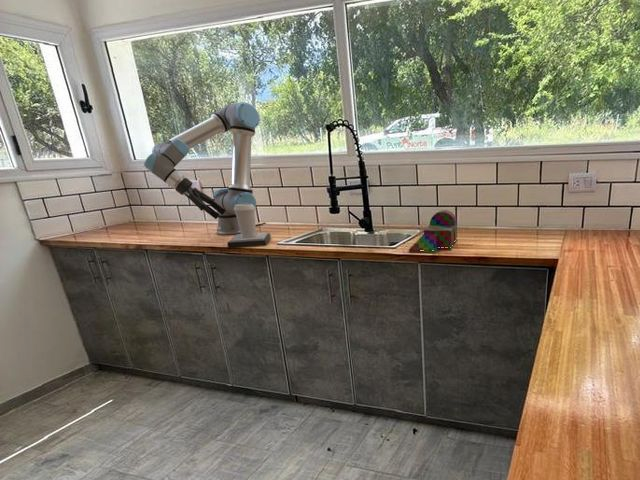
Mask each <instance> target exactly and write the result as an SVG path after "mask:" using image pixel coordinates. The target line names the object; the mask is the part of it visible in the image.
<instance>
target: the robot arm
mask: <svg viewBox="0 0 640 480" xmlns="http://www.w3.org/2000/svg"><path fill="white" fill-rule="evenodd" d="M260 120H261V118H260V113H259V111H258V109H257V108H256V107H255V106H254V105H253V104H251V103H249V102H243V101H241V102H235V103H230V104H227V105H225V106H224V107H222V108H220V109H219V110H217V111H215V112H214V113H211V115H210V118H207V119H206V120H204V121H202V122H200V123H198V124H196V125H194V126H192V127H189V128H188V129H186V130H184V131H183V132H181V133H179V134H176V135H174V136H173V137H171V138H169V139H168V140H165V141H164V142H162V143H157V144H155V145H153V147H152V149H151V153H150V154H149V155H148V156H147V157H146V158H145V160H144V162H143V166H144V168H146V169H147V171H149V172H151V174H153V175H154V176H156V177H157V178H159V179H160V180H161V181H163V182H164V183H165V184H167V187H171V188H172V189H174V190H175V191H176V192H177V193H178V194H179V195H181V196H185V197H187V198H188V199H189V201H191V202H192V203H193V204H194V205H195V206H196V207H197V208H198V209H199V210H200V211H201V212H202V211H204V212H206V213H207V214H208V215H209V216H211V217H212V218H214V219H215V220H217V226H216V233H217V235H221V236H231V235H237V234H241V231H240V228H239V224H238V220H237V216H236V213H235V210H234V207H235V205H237V204H253V206H254V207H255V209H254V211H256V207H257V199H256V198H255V196H254V195H253V192H254V191H253V188H252V187H251V186H250V185H251V164H252V163H251V161H252V160H251V159H252V138H253V137H254V136H255V135H256V128H257V127H258V126H259V124H260V123H261V121H260ZM229 131H230V132H231V134H232V157H231V158H232V160H231V183H230V184H229V185H228V186H227V187H228V188H221V189H215V190H214V191H213V198H212V197H211V196H209V195H207V194H206V193H204V192H203V191H201V190H199V189H198V188H197V187H192V186H193V182H192V181H191V180H190V179H189V178H187V177H185V175H184V174H183V173H181V171H179V170H177V169H176V168H175V167H176V166H177V165H178V164H179V163H180V162H182V160H183V159H184V158H186V156H187V155H188V154H189V153H190V150H191V149H193V148H194V147H196V146H198V145H200V144H201V143H203V142H205V141H207V140H209V139H211V138H213V137H214V136H217V135H218V134H225V133H226V132H229ZM266 224H267V223H266V222H263V223H259V224H255V226H256V227H258V226H262V225H266Z"/></svg>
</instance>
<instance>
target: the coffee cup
mask: <svg viewBox="0 0 640 480" xmlns="http://www.w3.org/2000/svg"><path fill="white" fill-rule="evenodd" d="M254 209H255V210H254ZM234 210H235V213H236V216H237V220H238V224H239V228H240V231H241V233H240V234H241V235H242V237H243V238H251V237H255V236H256V233H257V229H256V227H257V226H255V225H256V214H255V213H256V212H255V211H256V208H255V207H254V206H253V204H237V205H235V207H234Z"/></svg>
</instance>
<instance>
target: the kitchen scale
mask: <svg viewBox="0 0 640 480" xmlns="http://www.w3.org/2000/svg"><path fill="white" fill-rule="evenodd" d="M271 236H272V235H271V233H269V232H258V233H257V232H256V236H255V237H251V238H243V237H242V235H241V233H240V234H234V236H233V237H232V238H231V239H230V240H229V241H228V242H226V243H227V244H226V245H227V248H228V249H232V248H233V249H234V248H235V249H236V248H247V247H248V248H249V247H264V246H265V247H266V246H267V245H268V244H269V242H270V241H271V239H272V237H271Z"/></svg>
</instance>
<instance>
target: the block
mask: <svg viewBox="0 0 640 480" xmlns="http://www.w3.org/2000/svg"><path fill="white" fill-rule="evenodd" d="M456 238H457V239H456ZM455 240H456V241H455ZM454 241H455V242H454ZM457 242H458V221H457V216H456V215H455V214H454V213H453V212H452V211H450V210H447V209H442V210H439V211H437V212H436V213H434V214H433V215H432V217H431V218H430V221H429V224H428V226H427V227H426V228H425V229H423V234H422V235H421V236H420V237H419V238H418V240H417V241H415V243H413V245H412V246H410V248H409V251H408V252H409V253H411V254H413V253H414V254H415V253H416V254H436V253H437V252H438V251H452V249H453V248H454V246H455V244H456V243H457ZM453 243H454V244H453ZM452 245H453V246H452ZM438 247H440V248H438ZM441 247H444V248H441ZM445 247H448V248H445ZM450 247H451V248H450ZM420 250H424V251H420ZM432 250H434V251H432Z"/></svg>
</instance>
